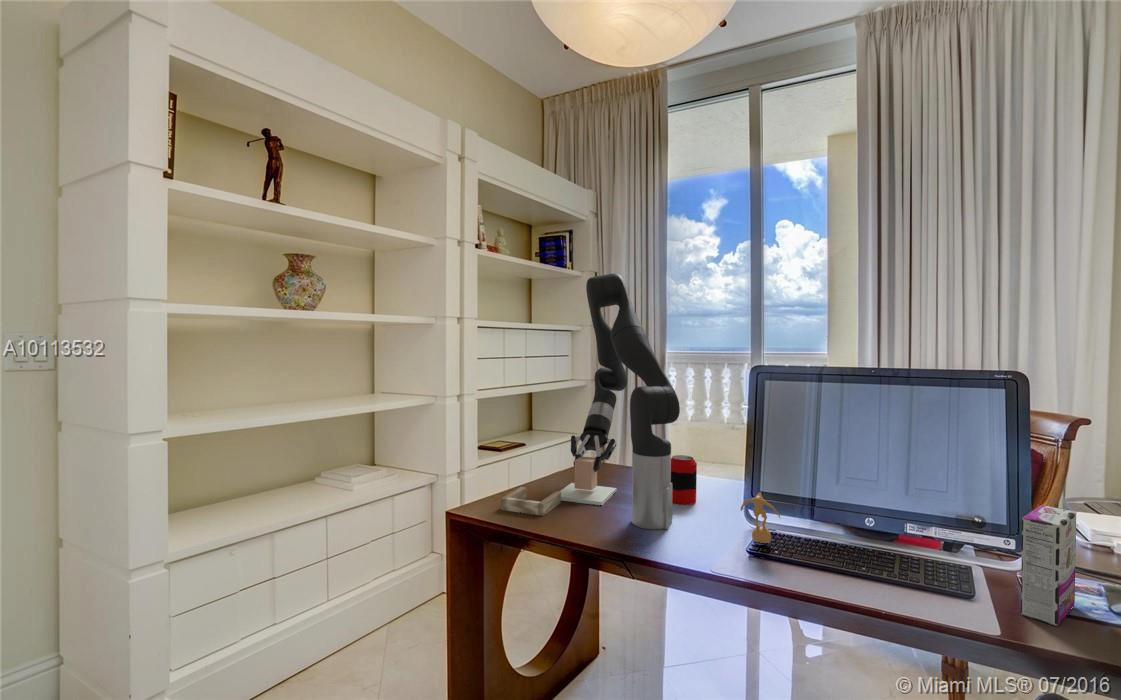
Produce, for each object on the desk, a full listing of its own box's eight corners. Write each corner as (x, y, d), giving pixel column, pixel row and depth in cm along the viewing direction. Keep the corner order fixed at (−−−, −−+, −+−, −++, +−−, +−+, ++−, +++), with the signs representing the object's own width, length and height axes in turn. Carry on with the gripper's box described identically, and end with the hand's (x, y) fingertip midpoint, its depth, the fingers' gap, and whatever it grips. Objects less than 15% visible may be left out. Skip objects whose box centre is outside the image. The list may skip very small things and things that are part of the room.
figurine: (783, 547, 116) (784, 492, 116) (776, 556, 111) (777, 498, 111) (745, 538, 121) (746, 485, 121) (736, 546, 116) (737, 491, 116)
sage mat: (616, 491, 156) (616, 488, 156) (601, 505, 143) (601, 502, 143) (571, 486, 161) (571, 482, 161) (553, 499, 148) (553, 495, 148)
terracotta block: (597, 485, 154) (597, 457, 153) (591, 490, 149) (591, 461, 149) (580, 483, 156) (580, 456, 155) (574, 488, 151) (574, 460, 151)
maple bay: (560, 502, 146) (560, 491, 145) (543, 515, 135) (543, 504, 135) (521, 497, 150) (521, 486, 150) (501, 509, 139) (501, 498, 139)
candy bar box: (1036, 595, 95) (1040, 503, 95) (1075, 607, 91) (1078, 511, 90) (1017, 614, 88) (1020, 516, 88) (1057, 628, 84) (1061, 525, 84)
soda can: (695, 506, 143) (696, 461, 143) (667, 503, 145) (667, 459, 145) (696, 497, 151) (696, 455, 150) (668, 495, 153) (669, 453, 152)
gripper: (573, 411, 163) (558, 459, 152) (619, 414, 157) (607, 464, 147) (579, 426, 168) (565, 473, 157) (624, 429, 162) (612, 479, 152)
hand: (585, 469), depth 152 cm, fingers closed on terracotta block, 4 cm apart
